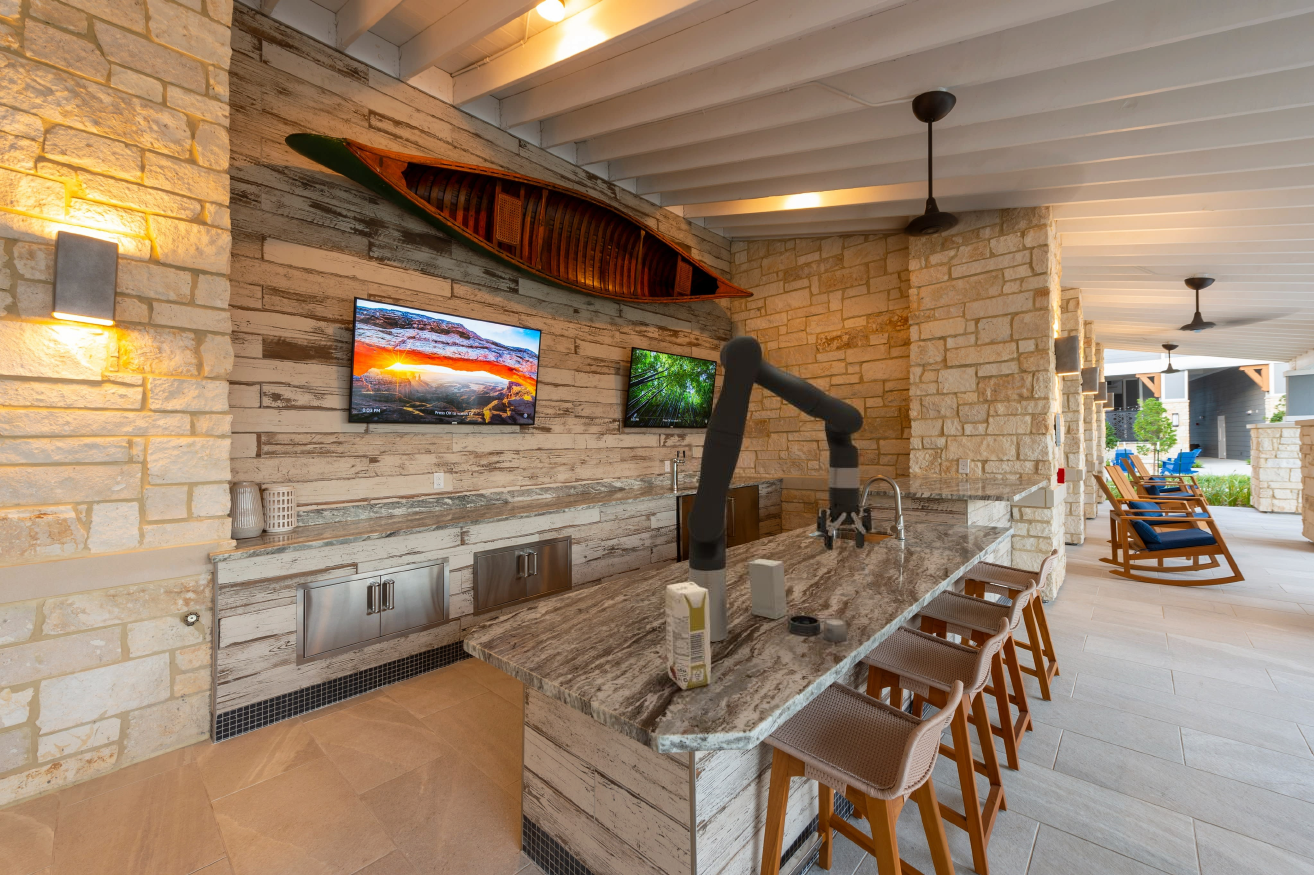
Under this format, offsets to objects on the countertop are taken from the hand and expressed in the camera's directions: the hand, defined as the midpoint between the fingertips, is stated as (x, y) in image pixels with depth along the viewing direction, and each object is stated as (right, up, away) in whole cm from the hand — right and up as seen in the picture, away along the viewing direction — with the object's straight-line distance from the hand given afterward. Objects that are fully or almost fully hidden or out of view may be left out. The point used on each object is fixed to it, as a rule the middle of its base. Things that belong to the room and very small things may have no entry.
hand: (844, 549), depth 133 cm
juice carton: (-41, -21, -26) cm, 53 cm away
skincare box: (-17, -21, +13) cm, 30 cm away
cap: (-4, -21, -6) cm, 22 cm away
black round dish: (-10, -21, 0) cm, 23 cm away
